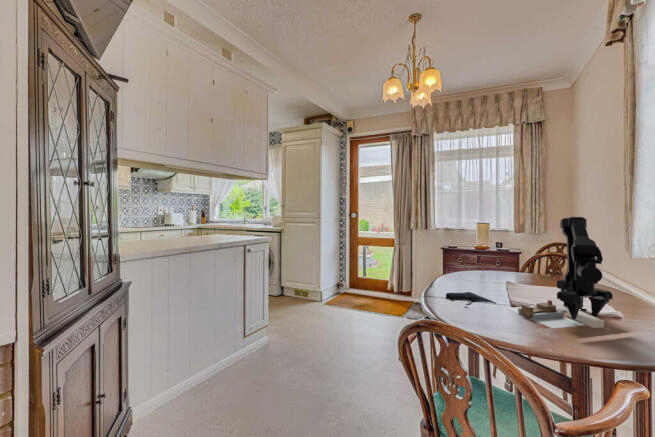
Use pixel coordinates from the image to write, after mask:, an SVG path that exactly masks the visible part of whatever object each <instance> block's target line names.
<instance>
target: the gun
mask: <svg viewBox="0 0 655 437" xmlns="http://www.w3.org/2000/svg"><path fill="white" fill-rule="evenodd" d="M445 297H446V298H447V299H449V300H451V301H452V300H453V301H454V300H466V301H469V303H468V302H467V303H466V304H465V306H464V307H465V308H466V309H469V310H470V307H469V306H470V305H473V303H482V302H483V303H486V304H487V303H492V304H494V305H496V304H497V302H495V301H494V300H493V301H492V300H491V299H488V298H486V297H483V296H480V295H478V294H476V293H473V292H470V291H468V292H467V291H466V292H447V293H446V294H445Z"/></svg>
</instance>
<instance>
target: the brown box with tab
mask: <svg viewBox="0 0 655 437" xmlns="http://www.w3.org/2000/svg"><path fill="white" fill-rule="evenodd" d="M530 306H531V305H526V304H521V306H520V307H521V316H522V315H523V317H525V316H526V317H525V318H527V317H528V318H527V319H529V318H532V314H536V313H546V312H556V309H557V305H555V304H553V300H550V299H549V300H547V302H540V303H536V306H537V307H533V308H532V307H530Z"/></svg>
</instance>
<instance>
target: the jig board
mask: <svg viewBox="0 0 655 437" xmlns="http://www.w3.org/2000/svg"><path fill="white" fill-rule="evenodd" d="M529 306H530V307H532V308H533V307H537V305H529ZM505 309H506V310H508V311H511V312H514V313H516V314H518V315H521V306H514V307H506V308H505ZM564 315H565V314H564V311H562V310H559V309H557V308H556V312H546V313H536V314H532V318H528V317H526V316H523V315H521V316H523V317H525V318H527V319H529V320H532V321H535V322H537V323H538V324H541V325H544V326H546V327H548V328H551V329H553V330H554V329H561V328H563V329H564V328H571V327H572V328H573V327H581V326H585V324H583V323H581V322H579V321H577V320H575V319H572V318H569V317H565V316H564Z"/></svg>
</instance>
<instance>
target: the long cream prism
mask: <svg viewBox="0 0 655 437" xmlns="http://www.w3.org/2000/svg"><path fill="white" fill-rule="evenodd" d="M565 314H566V316H567V318H569V319H572V317H571V314H570V312H569V310H568V308H566V312H565ZM574 321H576V322H579V323H582V324H584V326H587V327H590V328H592V329H593V328H594V329H596V328H597V329H600V328H601V329H602V328H603V329H604V328H605V320H603V319H601V318H599V317H597V316H596V317H594V316H592V314H590V313H587V312H584V311H583V310H579V311H578V315H577V317H576V319H574Z"/></svg>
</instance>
